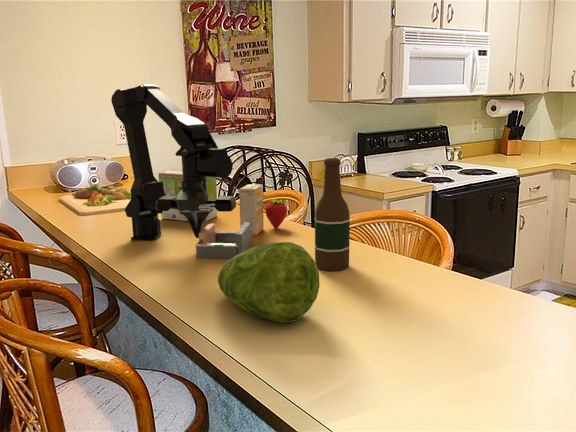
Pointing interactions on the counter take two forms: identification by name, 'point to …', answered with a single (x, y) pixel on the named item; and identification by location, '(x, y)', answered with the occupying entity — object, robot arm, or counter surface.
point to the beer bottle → (332, 222)
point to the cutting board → (97, 200)
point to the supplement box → (252, 206)
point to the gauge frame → (227, 243)
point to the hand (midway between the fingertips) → (198, 237)
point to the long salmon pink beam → (207, 234)
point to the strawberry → (276, 212)
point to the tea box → (173, 187)
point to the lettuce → (271, 281)
